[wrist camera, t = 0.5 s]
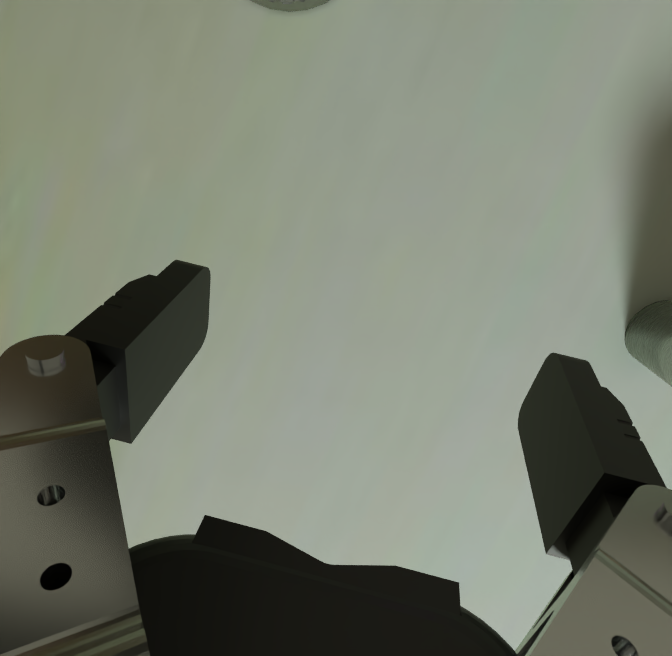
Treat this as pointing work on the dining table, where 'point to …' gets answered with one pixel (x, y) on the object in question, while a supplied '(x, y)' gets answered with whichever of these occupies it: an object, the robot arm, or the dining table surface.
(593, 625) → the robot arm
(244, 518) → the dining table surface
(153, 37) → the dining table surface
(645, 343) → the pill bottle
